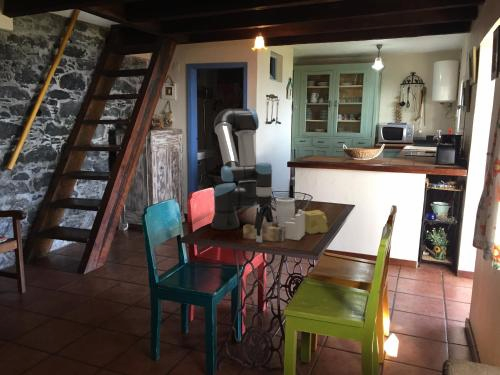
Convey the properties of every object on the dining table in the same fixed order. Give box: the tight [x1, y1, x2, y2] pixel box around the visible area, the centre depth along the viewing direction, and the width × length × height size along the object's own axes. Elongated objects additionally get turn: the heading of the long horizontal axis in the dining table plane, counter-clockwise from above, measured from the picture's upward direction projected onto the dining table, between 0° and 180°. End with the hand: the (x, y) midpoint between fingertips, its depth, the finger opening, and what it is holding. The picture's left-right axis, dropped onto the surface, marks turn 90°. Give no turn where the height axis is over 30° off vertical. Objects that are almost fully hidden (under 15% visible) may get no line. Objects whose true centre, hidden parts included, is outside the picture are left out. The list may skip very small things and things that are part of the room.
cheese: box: [305, 209, 328, 235], centre depth 218 cm, size 10×11×10 cm
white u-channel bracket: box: [284, 209, 306, 241], centre depth 207 cm, size 7×11×14 cm, turn 158°
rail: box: [242, 223, 286, 243], centre depth 204 cm, size 20×4×6 cm, turn 68°
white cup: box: [275, 197, 296, 228], centre depth 229 cm, size 11×10×15 cm
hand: (264, 238), depth 205 cm, fingers open, 12 cm apart
